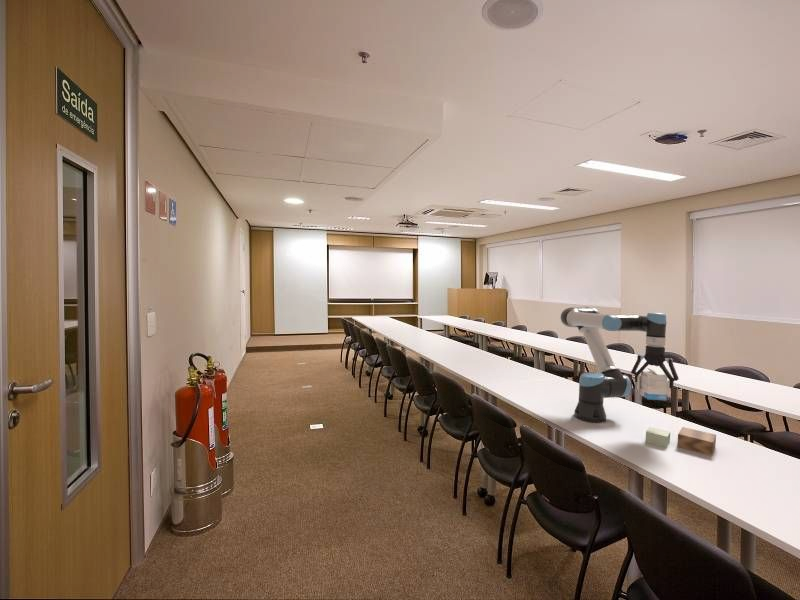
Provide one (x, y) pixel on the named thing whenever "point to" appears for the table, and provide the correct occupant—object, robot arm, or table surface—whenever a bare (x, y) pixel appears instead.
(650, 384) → the ink box
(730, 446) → the table surface
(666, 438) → the sage block
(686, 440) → the walnut block
